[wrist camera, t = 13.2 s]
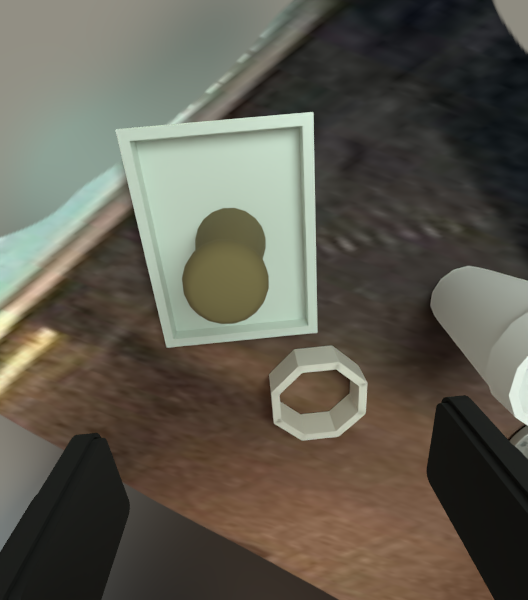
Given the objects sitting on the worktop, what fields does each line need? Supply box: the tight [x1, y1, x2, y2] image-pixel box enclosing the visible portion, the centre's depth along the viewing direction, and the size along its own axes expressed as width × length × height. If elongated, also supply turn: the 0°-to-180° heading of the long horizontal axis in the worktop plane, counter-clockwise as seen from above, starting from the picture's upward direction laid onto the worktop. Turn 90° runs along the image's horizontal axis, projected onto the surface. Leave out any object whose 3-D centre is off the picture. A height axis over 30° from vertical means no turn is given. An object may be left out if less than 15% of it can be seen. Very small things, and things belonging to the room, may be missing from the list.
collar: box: [269, 346, 367, 440], centre depth 35 cm, size 10×10×3 cm
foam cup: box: [430, 266, 528, 426], centre depth 27 cm, size 10×9×13 cm
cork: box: [182, 208, 269, 324], centre depth 24 cm, size 6×6×11 cm
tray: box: [116, 112, 317, 348], centre depth 28 cm, size 18×14×2 cm
